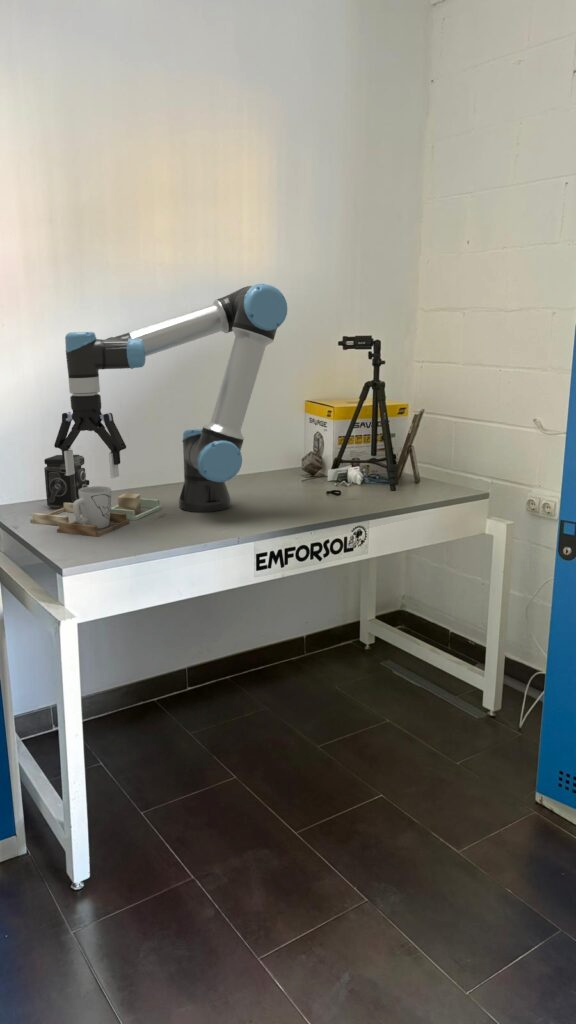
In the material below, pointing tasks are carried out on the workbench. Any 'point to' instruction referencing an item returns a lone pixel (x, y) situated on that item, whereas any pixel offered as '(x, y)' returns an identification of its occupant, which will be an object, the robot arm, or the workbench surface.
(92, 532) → the walnut rim
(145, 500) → the sage rim
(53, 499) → the camera
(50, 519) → the birch rim
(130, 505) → the birch cube
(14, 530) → the workbench surface
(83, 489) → the mug
